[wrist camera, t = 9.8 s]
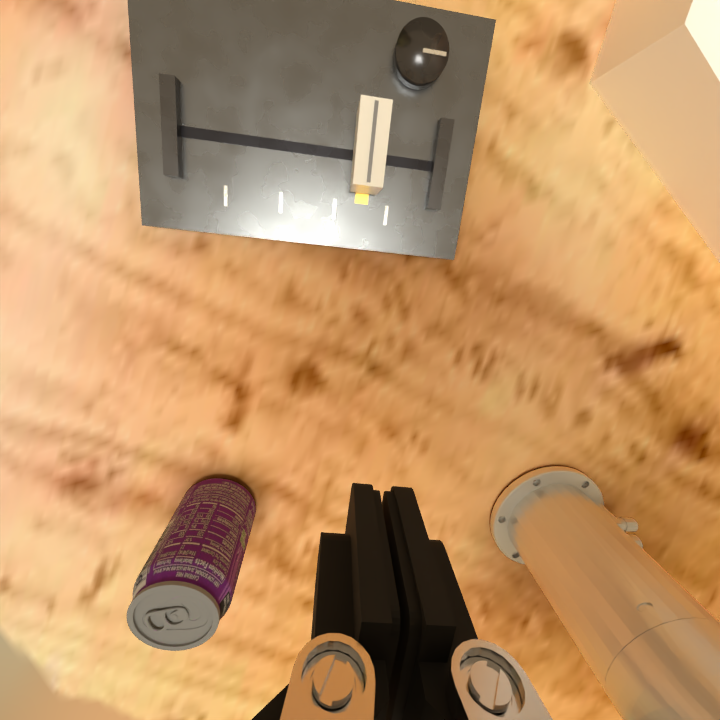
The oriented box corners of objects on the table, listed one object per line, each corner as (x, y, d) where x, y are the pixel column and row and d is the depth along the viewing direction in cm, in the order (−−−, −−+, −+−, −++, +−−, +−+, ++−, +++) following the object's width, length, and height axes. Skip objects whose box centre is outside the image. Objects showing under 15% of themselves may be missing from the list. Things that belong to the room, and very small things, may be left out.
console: (483, 36, 27) (504, 8, 24) (446, 259, 31) (459, 260, 28) (140, -28, 24) (112, -69, 21) (154, 226, 29) (133, 224, 25)
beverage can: (198, 538, 38) (142, 665, 26) (174, 482, 35) (102, 593, 24) (265, 523, 38) (238, 642, 26) (245, 466, 36) (207, 569, 24)
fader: (384, 118, 26) (393, 99, 22) (376, 195, 27) (383, 187, 24) (356, 114, 25) (361, 94, 22) (349, 191, 27) (352, 183, 23)
